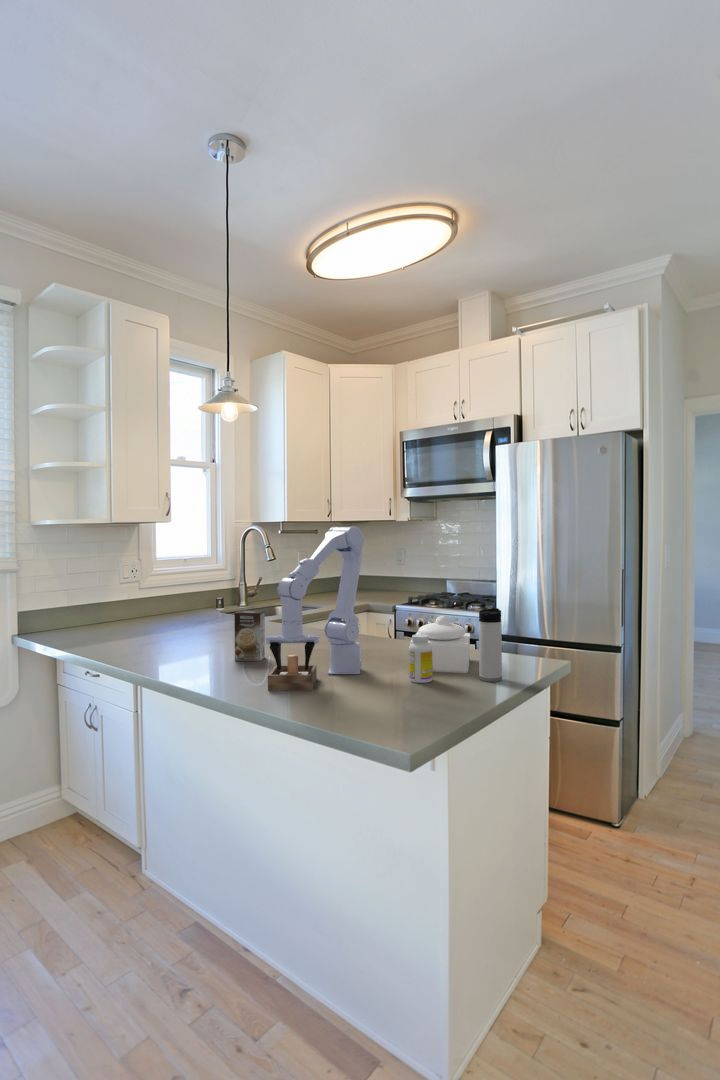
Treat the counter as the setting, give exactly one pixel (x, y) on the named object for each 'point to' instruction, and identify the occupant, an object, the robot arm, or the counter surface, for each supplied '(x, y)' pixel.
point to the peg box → (292, 678)
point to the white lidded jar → (447, 645)
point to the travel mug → (490, 645)
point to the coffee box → (249, 635)
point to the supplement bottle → (420, 659)
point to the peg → (292, 664)
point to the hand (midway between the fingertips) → (293, 669)
